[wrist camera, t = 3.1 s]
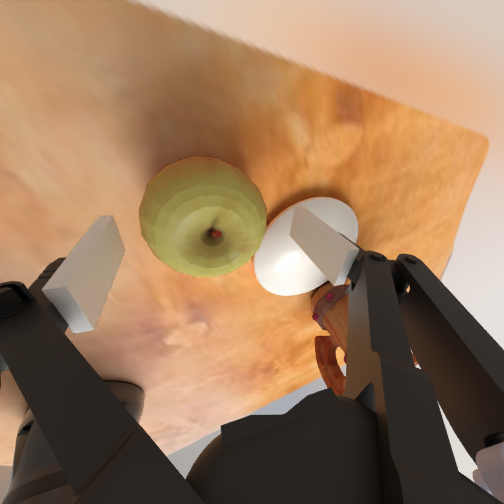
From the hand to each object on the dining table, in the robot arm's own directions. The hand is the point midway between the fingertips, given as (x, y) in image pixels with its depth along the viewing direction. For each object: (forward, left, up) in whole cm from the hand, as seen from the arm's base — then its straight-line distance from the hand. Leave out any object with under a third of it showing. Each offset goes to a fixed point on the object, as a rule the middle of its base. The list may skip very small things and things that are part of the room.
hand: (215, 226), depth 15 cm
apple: (0, 0, -6) cm, 6 cm away
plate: (+13, -7, -6) cm, 16 cm away
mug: (+19, -20, -6) cm, 28 cm away
